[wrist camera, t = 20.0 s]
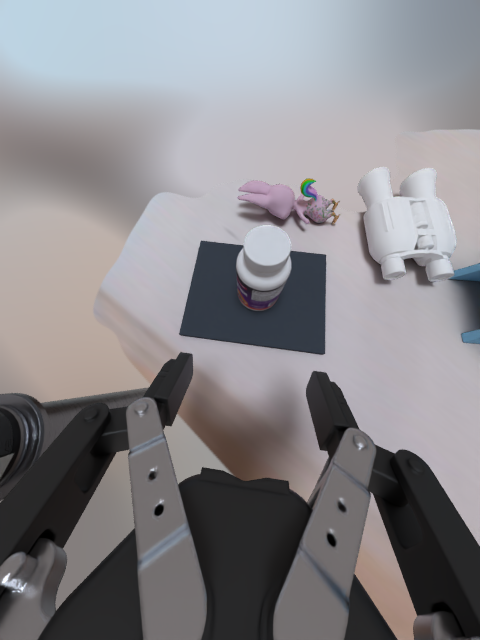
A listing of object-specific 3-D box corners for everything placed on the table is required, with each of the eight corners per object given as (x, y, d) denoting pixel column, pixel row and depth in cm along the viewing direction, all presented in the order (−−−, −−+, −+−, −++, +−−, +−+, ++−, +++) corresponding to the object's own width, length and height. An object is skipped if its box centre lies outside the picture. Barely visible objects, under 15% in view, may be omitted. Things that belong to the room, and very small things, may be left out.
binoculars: (416, 195, 30) (447, 163, 25) (442, 286, 25) (485, 267, 21) (350, 193, 30) (369, 161, 26) (365, 283, 26) (391, 264, 21)
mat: (180, 335, 24) (179, 334, 23) (201, 243, 28) (200, 240, 27) (322, 354, 23) (324, 354, 22) (324, 257, 27) (326, 254, 26)
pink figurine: (327, 208, 31) (238, 188, 29) (353, 172, 25) (245, 143, 23) (328, 240, 29) (233, 220, 27) (356, 208, 24) (240, 180, 22)
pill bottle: (235, 277, 25) (231, 220, 16) (274, 272, 26) (293, 214, 16) (240, 314, 24) (239, 276, 15) (281, 309, 24) (306, 269, 15)
